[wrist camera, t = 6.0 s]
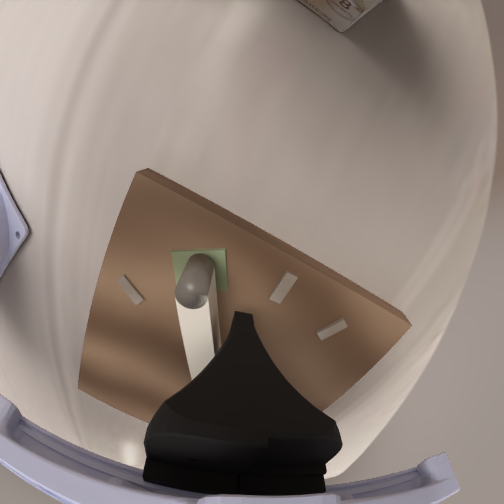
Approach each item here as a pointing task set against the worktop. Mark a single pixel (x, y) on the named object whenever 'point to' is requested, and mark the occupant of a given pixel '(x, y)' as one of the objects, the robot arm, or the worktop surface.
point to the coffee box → (341, 11)
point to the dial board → (221, 303)
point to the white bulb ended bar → (198, 312)
